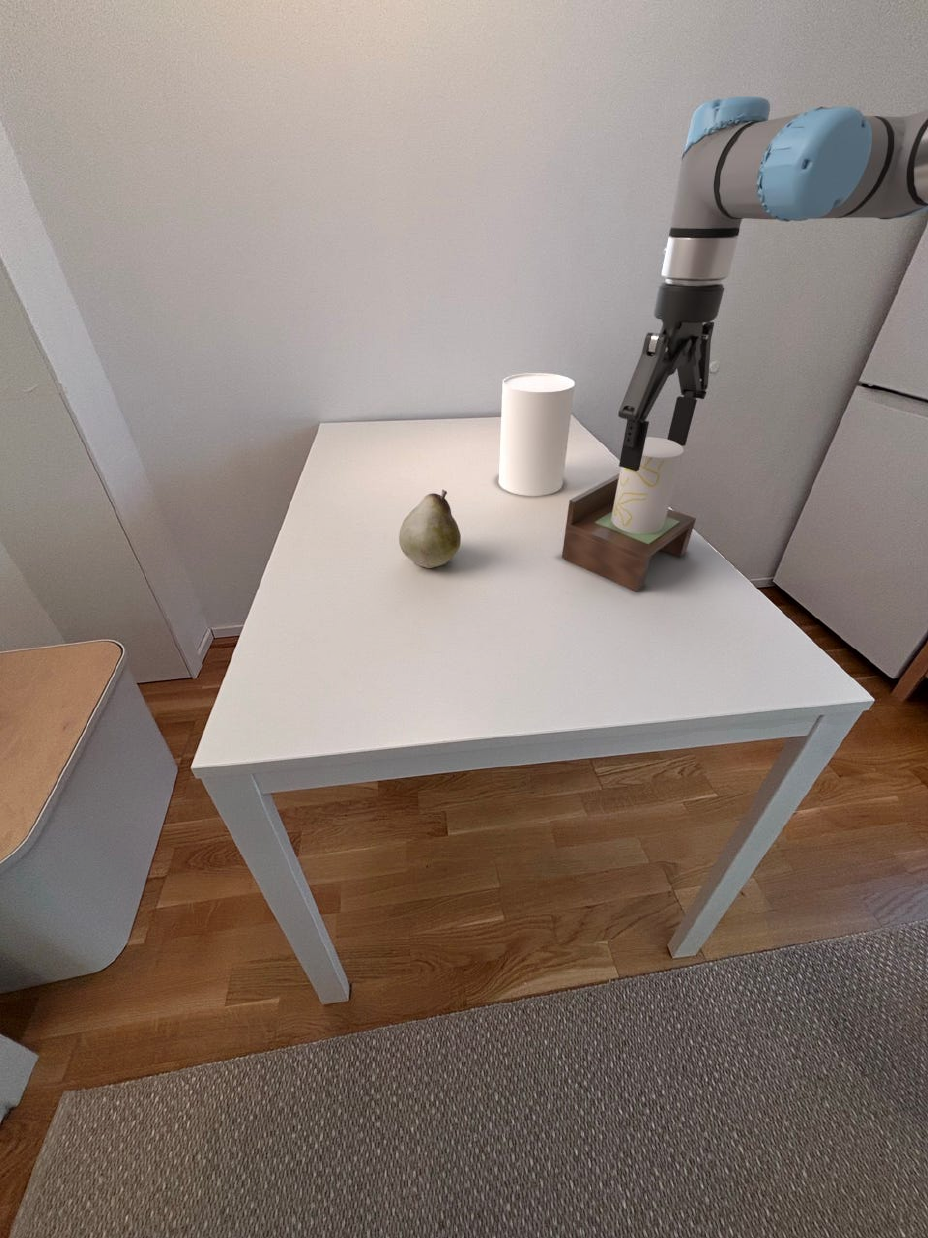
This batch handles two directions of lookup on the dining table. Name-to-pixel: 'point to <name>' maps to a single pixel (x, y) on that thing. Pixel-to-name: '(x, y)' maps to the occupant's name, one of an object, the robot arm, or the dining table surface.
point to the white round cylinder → (647, 488)
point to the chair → (617, 538)
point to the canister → (534, 432)
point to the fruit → (430, 532)
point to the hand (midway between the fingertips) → (653, 455)
